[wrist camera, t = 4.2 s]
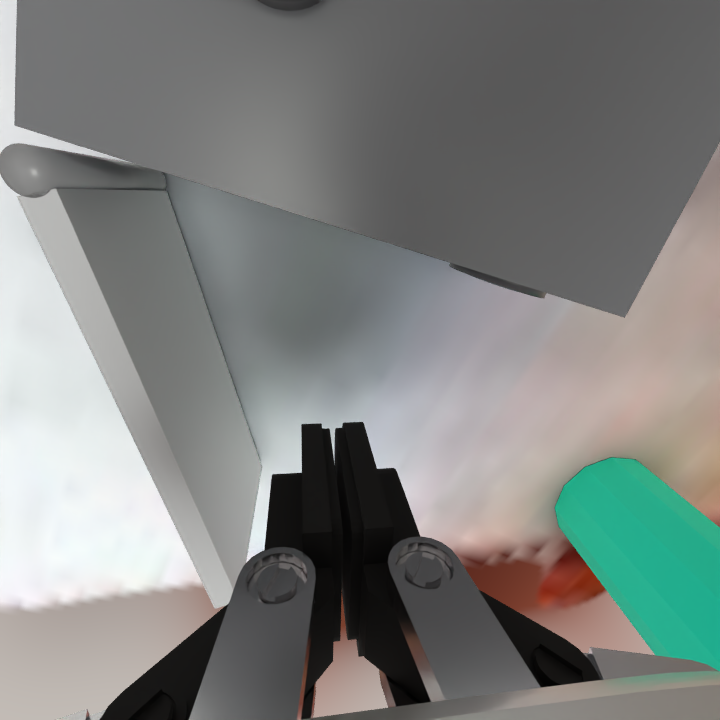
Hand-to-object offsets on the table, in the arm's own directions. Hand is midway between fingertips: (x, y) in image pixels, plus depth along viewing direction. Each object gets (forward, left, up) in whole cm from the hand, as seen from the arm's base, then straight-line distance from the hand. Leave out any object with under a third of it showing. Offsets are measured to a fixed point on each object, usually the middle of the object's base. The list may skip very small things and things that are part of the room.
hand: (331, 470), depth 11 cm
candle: (-18, +4, -8) cm, 20 cm away
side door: (+5, 0, -8) cm, 9 cm away
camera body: (+1, -11, -8) cm, 13 cm away
